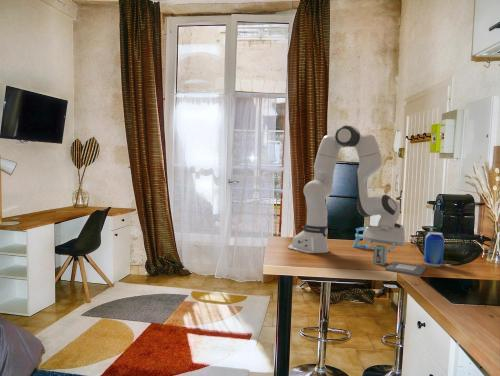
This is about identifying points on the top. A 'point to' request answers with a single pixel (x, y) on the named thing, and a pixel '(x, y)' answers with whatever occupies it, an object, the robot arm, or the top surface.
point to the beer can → (434, 249)
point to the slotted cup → (383, 254)
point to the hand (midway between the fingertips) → (380, 249)
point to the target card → (406, 268)
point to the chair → (359, 239)
